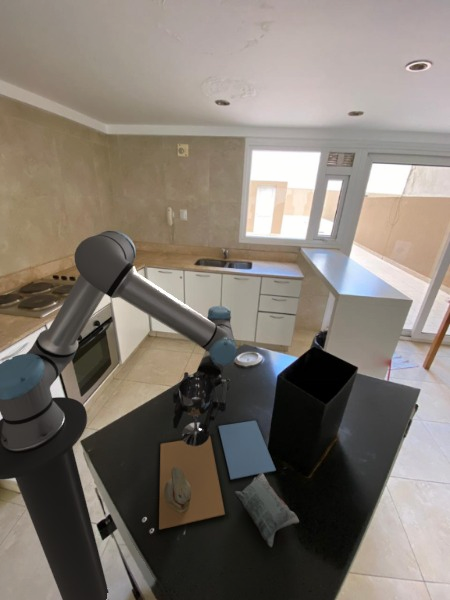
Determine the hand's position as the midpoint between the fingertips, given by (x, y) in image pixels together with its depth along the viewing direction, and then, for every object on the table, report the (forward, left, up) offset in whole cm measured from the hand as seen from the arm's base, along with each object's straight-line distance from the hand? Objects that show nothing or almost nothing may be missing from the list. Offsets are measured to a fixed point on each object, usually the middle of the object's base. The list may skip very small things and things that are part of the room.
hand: (189, 426), depth 57 cm
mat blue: (-5, +16, -16) cm, 23 cm away
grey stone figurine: (+5, -3, -16) cm, 17 cm away
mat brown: (0, 0, -16) cm, 16 cm away
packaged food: (+11, +16, -16) cm, 25 cm away
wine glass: (-5, +2, -8) cm, 10 cm away
